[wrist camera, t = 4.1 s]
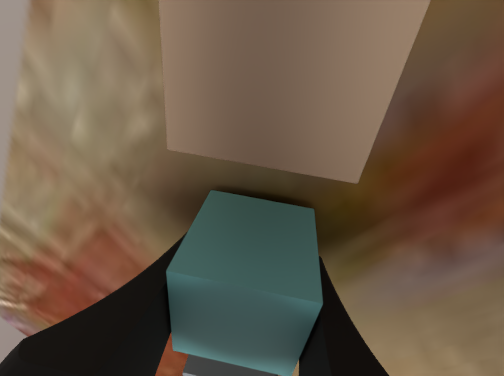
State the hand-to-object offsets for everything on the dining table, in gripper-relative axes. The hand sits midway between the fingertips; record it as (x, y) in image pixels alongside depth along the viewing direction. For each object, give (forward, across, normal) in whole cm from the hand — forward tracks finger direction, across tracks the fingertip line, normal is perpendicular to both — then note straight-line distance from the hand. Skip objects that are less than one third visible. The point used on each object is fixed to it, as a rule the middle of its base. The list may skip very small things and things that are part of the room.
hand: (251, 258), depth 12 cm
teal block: (+1, 0, 0) cm, 1 cm away
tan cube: (+2, 0, -9) cm, 9 cm away
